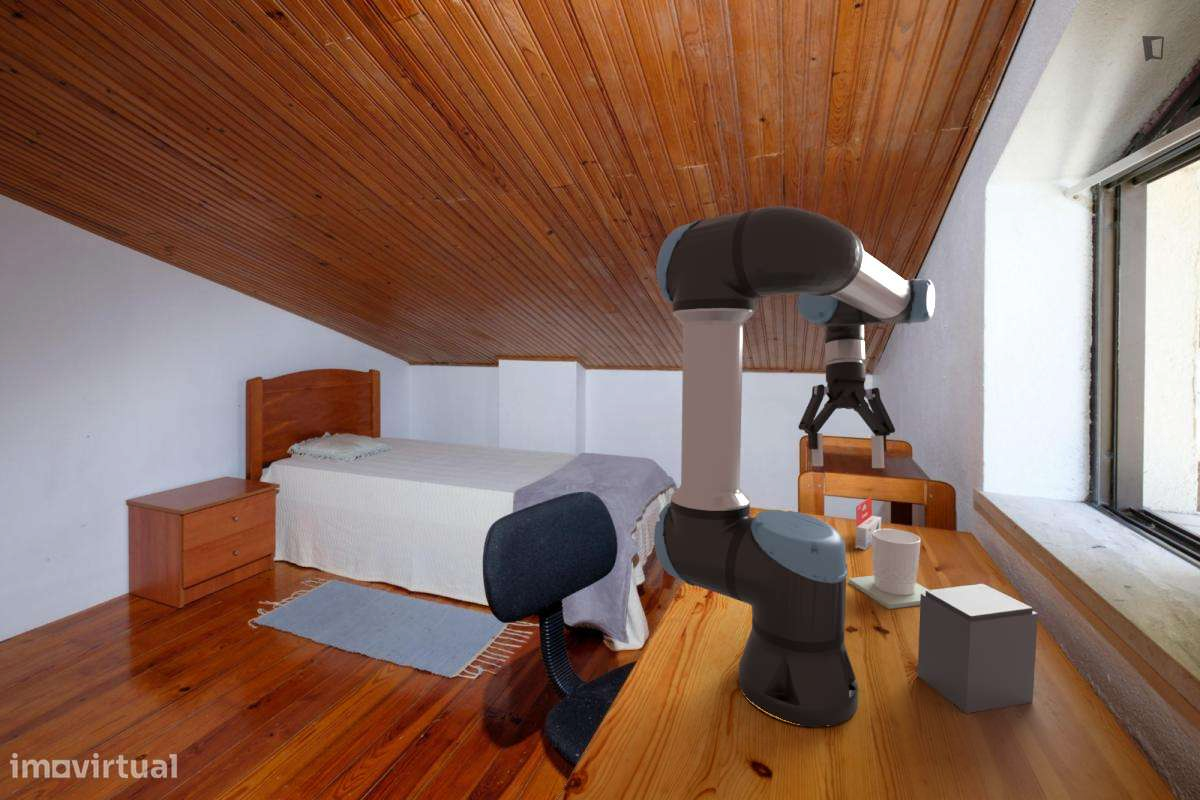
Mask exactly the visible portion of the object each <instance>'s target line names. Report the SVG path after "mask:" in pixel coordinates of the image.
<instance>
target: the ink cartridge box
mask: <svg viewBox="0 0 1200 800" xmlns="http://www.w3.org/2000/svg"><path fill="white" fill-rule="evenodd" d="M872 498H873V497H872V496H869V497H868V498H867V499H865V500H864V501H862V502H861V503H859V504H858V505H857V506H856V507H855V511H856V514H855V516H856V520H855V522H856V523H855V524H856V525H855V526H856V528H855V544H854V547H855V549H857V548H860V549H859V550H861V549H864V550H863V551H867V550H868V549H869V548H870V547H871V546H872V545H871V544H872V532H873V531H874V530H878V529H882V517H881V516H875V515H873V509H872V508H873V502H872ZM864 505H865V508H864ZM863 508H864V509H863ZM870 545H871V546H870ZM869 546H870V547H869ZM868 547H869V548H868ZM867 548H868V549H867ZM866 549H867V550H866Z"/></svg>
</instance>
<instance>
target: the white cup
mask: <svg viewBox="0 0 1200 800" xmlns="http://www.w3.org/2000/svg"><path fill="white" fill-rule="evenodd" d="M921 540H922V538H921V537H920V536H919V535H917V534H915V533H913V532H910V531H907V530H903V529H897V528H896V529H895V528H881V529H878V530H874V531H873V532H872V545H871V546H872V547H871V549H872V551H871V552H872V553H871V554H872V571H873V576H874V584H875V587H877V588H878V589H879V590H881V591H884V592H886V593H889V594H894V595H910V594H913V593H914V592H915V587H916V583H917V576H918V569H919V562H920V551H921V542H922V541H921Z"/></svg>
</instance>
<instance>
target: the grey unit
mask: <svg viewBox="0 0 1200 800" xmlns="http://www.w3.org/2000/svg"><path fill="white" fill-rule="evenodd" d="M919 606H920V607H919V627H918V628H919V630H918V655H917V656H918V657H917V677H919V679H921V680H922V681H923V682H925V683H926V684H927V685H929V686H930V687H931V688H932V689H933V690H935V691H936V692H937V693H938V694H940V695H941V696H943V697H944V698H945V699H947V700H948V701H949V702H950V703H952V704H953V705H954V704H955V705H956V707H957V706H958V707H959V708H960V709H959V708H958V707H957V708H958V709H959V710H961V711H962V712H963V711H964V712H965V713H964V714H966V713H968V714H970V713H969V712H974V713H978V712H977V711H979V712H984V711H990V710H989V709H991V710H996V708H997V709H1001V708H1008V707H1013V706H1018V705H1026V704H1031V703H1033V701H1034V700H1033V699H1034V685H1035V684H1034V683H1035V669H1036V667H1035V666H1036V655H1037V654H1036V652H1037V651H1036V650H1037V637H1038V636H1037V635H1038V621H1039V620H1038V619H1039V613H1037V612H1036V611H1034V610H1033V609H1034V608H1033V607H1032V606H1030V605H1028V604H1026V603H1023V602H1021V601H1019V600H1017V599H1015V598H1013V597H1011V596H1009V595H1007V594H1004V593H1003V592H1001V591H999V590H997V589H994V588H993V587H990V586H989V585H987V584H984V583H977V584H970V585H969V584H968V585H959V586H954V587H953V586H952V587H945V588H936V589H928V590H927V591H926V593H923V594H921V599H920V605H919ZM955 705H954V706H955Z"/></svg>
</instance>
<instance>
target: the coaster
mask: <svg viewBox="0 0 1200 800" xmlns="http://www.w3.org/2000/svg"><path fill="white" fill-rule="evenodd" d="M848 583H849V584H850V585H852V586H853V587H855V588H856V589H858V590H859V591H861V592H862V593H864V594H865V595H867V596H868V597H870V598H871V599H872V600H874V601H876V602H877V603H879V604H880V605H882V607H884V608H887V609H888V610H892V609H899V608H900V609H901V608H907V607H916V606H920V599H921V594H923V593H926V591H927V590H929V589H928V588H927V587H925V586H922V585H921V584H920V583H918V582H916V587H915V592H914V593H913V594H910V595H894V594H889V593H886V592H884V591H881V590H879V589H878V588H877V587H875V584H874V575H868V576H865V575H864V576H858V577H849V578H848Z"/></svg>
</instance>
